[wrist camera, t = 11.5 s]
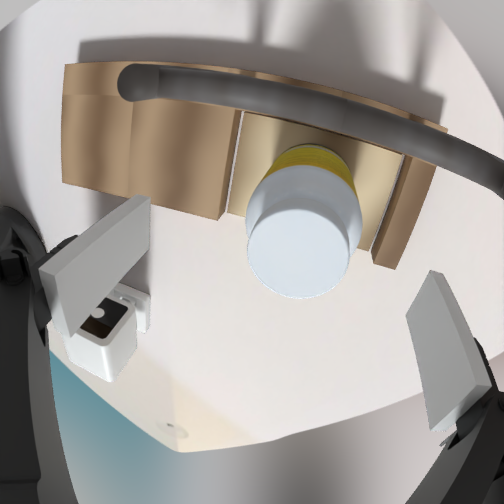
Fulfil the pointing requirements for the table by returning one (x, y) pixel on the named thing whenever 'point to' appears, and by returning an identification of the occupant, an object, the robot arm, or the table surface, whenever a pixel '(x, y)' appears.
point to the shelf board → (249, 141)
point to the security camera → (110, 333)
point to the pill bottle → (303, 222)
